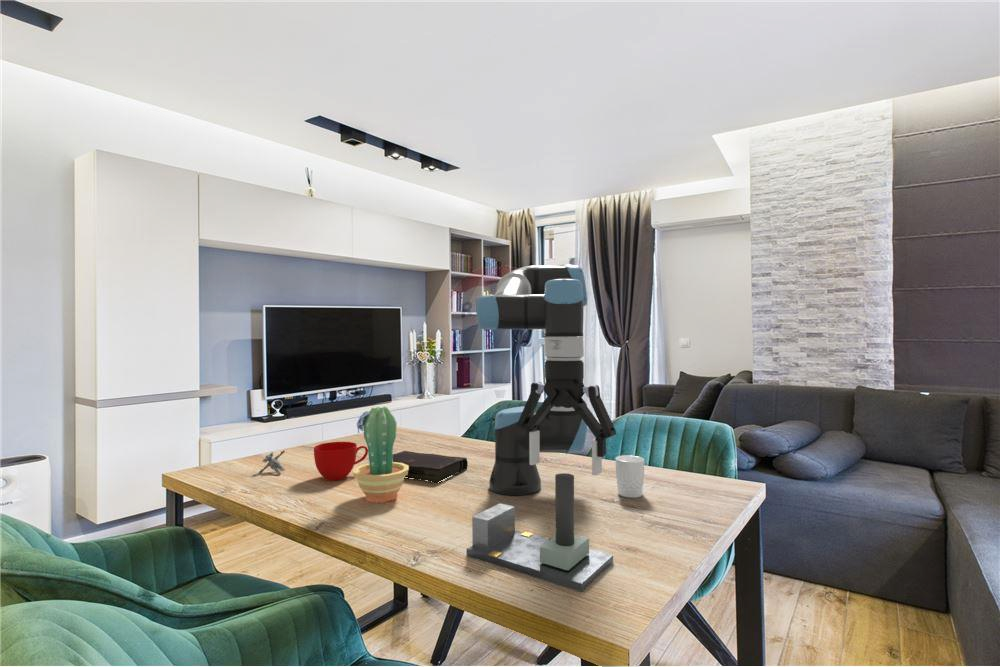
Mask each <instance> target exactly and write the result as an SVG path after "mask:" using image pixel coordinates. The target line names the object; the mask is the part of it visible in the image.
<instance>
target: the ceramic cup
mask: <svg viewBox="0 0 1000 667" xmlns="http://www.w3.org/2000/svg"><path fill="white" fill-rule="evenodd" d="M366 446H367V445H366ZM366 446H365V445H360V446H358V445H357V443H355V442H352V441H332V442H324V443H320V444H317V445H315V446H314V447H313V458H314V464H315V467H316V469H317V472H318V473H319V474H320V475H321V476H322V478H324V480H326V481H333V480H334V481H340V480H341V481H342V480H344V479H346V478H347V477H348V475H349V474H350V473H351V472H352V471H353V470H354V468H355V465H357V464H359V463H361V462H362V461H364V460H365V459H366V458H367V456H368V446H367V447H366ZM362 449H364V450H365V452H364V454H363V456H362V457H361V458H359V459H358V460H357V453H358V451H360V450H362Z"/></svg>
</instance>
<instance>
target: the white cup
mask: <svg viewBox="0 0 1000 667" xmlns="http://www.w3.org/2000/svg"><path fill="white" fill-rule="evenodd" d="M615 474H616V475H615V476H616V477H615V478H616V485H617V486H616V487H617V495H619V496H621V497H624V498H631V499H632V498H634V499H635V498H640V497H643V492H644V491H643V490H644V489H643V488H644V476H645V458H643V457H642V456H638V455H630V454H627V455H624V454H623V455H618V456H616V457H615Z"/></svg>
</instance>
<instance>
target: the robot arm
mask: <svg viewBox="0 0 1000 667" xmlns="http://www.w3.org/2000/svg"><path fill="white" fill-rule="evenodd" d="M587 295H588V293H587V285H586V279H585V274H584V270H583V268H582V267H581V266H580V265H577V264H554V265H552V264H551V265H526V266H522V267H517V268H515V269H513V270H510V271H508V272H507V273H505V274H504V275H503V276H502V277H501V278H499V281H498V282H497V285H496V292H495V293H494V294H491V293H490V294H485V295H480V296H478V297H477V300H476V322H477V326H478V327H479V329H481V330H489V331H490V330H492V331H499V330H500V331H501V330H503V331H504V330H544V357H546V360H545V361H544V379H545V383H542V382H541V381H537V382H532V383H531V384H530V392H529V395H528V398H527V401H526V403H525V405H524V406H516V407H509V408H505V409H502V410H500V411H498V412H497V413H496V415H495V419H494V420H495V422H494V438H495V439H494V441H495V442H494V443H495V444H494V446H495V448H494V449H495V452H494V454H495V455H494V457H495V458H494V460H495V461H494V465H493V468H492V470H491V474H490V477H489V483H488V484H489V489H490V490H491V491H492V492H494V493H496V494H501V495H507V496H525V495H531V494H534V493H537V492H539V491H540V490H541V489H542V479H541V477H540V472H539V470H538V467H537V464H539V463H540V461H541V460H540V458H541V457H540V455H541V453H543V454H544V453H547V454H548V453H549V454H550V453H551V454H555V453H556V454H566V455H567V454H579V453H581V452H582V451H583V450H584V448H585V443H586V439H587V431H588V430H587V429H589V431H590V432H591V433H592V435H593V436H594V437H595V438H594V439H591V475H592V476H598V475H599V474H601V473H602V472H603V457H605V456H606V455H607V439H608V438H612V437H614V436H616V434H617V430H616V428H615V426H614V424H613V421H612V419H611V417H610V414H609V413H608V411H607V409H606V406H605V404H604V402H603V400H602V397H601V392H600V387H599V386H600V385H598V384H594V385H590V386H585V384H584V377H585V376H584V374H585V373H584V372H585V371H584V363H585V362H583V360H581V358H583V357H584V356H585V353H584V352H585V351H584V307H585V306H587V305H588V297H587ZM543 393H545V395H546V397H545V399H544V400H543V401H542V403H541V406H540V407H539V408H538V410H537V411H536V408H537V406H538V403H539V402H540V399H541V396H542V394H543ZM584 395H586V397H587V398H588V400H589V402H590V405H591V408H592V409H593V412H594V414H595V415H594V414H593V413H592V411H591V409H590V408H589V407H588V405H587V403H586V401H585V400H584V399H583V396H584Z"/></svg>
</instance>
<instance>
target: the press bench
mask: <svg viewBox="0 0 1000 667" xmlns="http://www.w3.org/2000/svg"><path fill="white" fill-rule="evenodd" d="M471 520H472V521H471V522H472V523H471V526H472V527H471V528H472V529H471V530H472V531H471V532H472V539H471V540H472V545H471V546H469V547H467V548H466V549H465V550H466V551H465V552H466V557H468V558H471V559H475V560H479V561H481V562H484V563H487V562H488V564H490V563H491V564H492V565H494V566H498V567H501V568H504V569H506V568H507V570H511V571H513V572H517V573H520V574H523V575H525V576H529V577H533V578H536V579H537V580H541V579H542V581H545V582H549V583H551V584H554V585H557V586H562V587H564V588H568V589H571V590H574V591H577V592H580V593H583V592H584V591H585V590H586V589H587V588H588V587H589V586H591V584H593V582H594V581H595V580H597V579H598V577H600V576H601V575H602V574H603V573H604V572H605V571H606V570H607V569H609V567H610V566H611V565H612V564H614V555H613V554H610V553H606V552H603V551H599V550H596V549H591V548H589V554H588V555H586V556H585V557H584V558H583V559H582V560H580V561H579V562H578V563H577V564H575V565H574V566H573V567H572V568H571V569H569V570H564V569H561V568H557V567H554V566H551V565H547V564H544V563H540V546H542V545H543V544H545V543H546V542H548V541H549V540H551V539H552V538H548V537H544V536H540V535H537V534H534V532H533V533H532V532H529V531H521V530H517V529H516V507H515V506H513V505H509V504H505V503H498V504H495V505H493V506H492V507H489V508H487V509H485V510H483V511H481V512H479V513H477V514H475V515H473V516H471ZM491 564H490V565H491Z"/></svg>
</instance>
